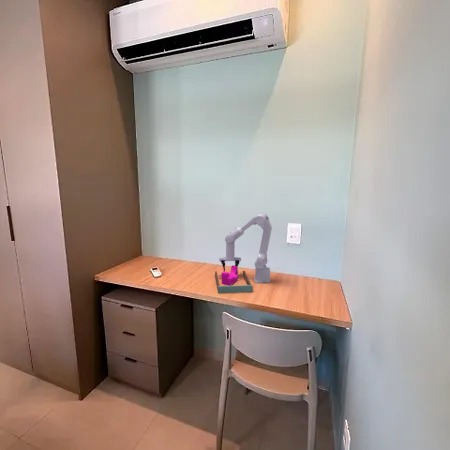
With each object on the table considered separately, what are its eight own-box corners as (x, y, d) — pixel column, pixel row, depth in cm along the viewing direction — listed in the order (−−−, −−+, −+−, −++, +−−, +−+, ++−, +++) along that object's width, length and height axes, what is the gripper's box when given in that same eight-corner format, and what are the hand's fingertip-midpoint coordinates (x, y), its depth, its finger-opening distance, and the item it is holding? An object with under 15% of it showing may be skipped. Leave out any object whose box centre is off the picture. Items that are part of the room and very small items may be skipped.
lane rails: (244, 274, 187) (244, 270, 186) (252, 291, 161) (252, 286, 160) (214, 275, 185) (214, 271, 184) (217, 292, 159) (218, 287, 158)
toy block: (230, 285, 168) (230, 274, 166) (221, 283, 171) (221, 272, 170) (240, 277, 181) (241, 266, 179) (232, 275, 184) (232, 265, 182)
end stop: (252, 291, 161) (252, 284, 160) (252, 292, 160) (252, 285, 159) (217, 292, 159) (218, 285, 158) (218, 293, 158) (218, 286, 157)
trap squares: (241, 274, 187) (241, 274, 187) (242, 278, 181) (242, 277, 181) (218, 275, 185) (218, 275, 185) (218, 278, 179) (218, 278, 179)
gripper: (240, 250, 186) (239, 268, 189) (219, 250, 185) (218, 269, 187) (241, 252, 179) (241, 272, 182) (219, 253, 178) (219, 272, 180)
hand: (229, 271), depth 184 cm, fingers open, 7 cm apart
